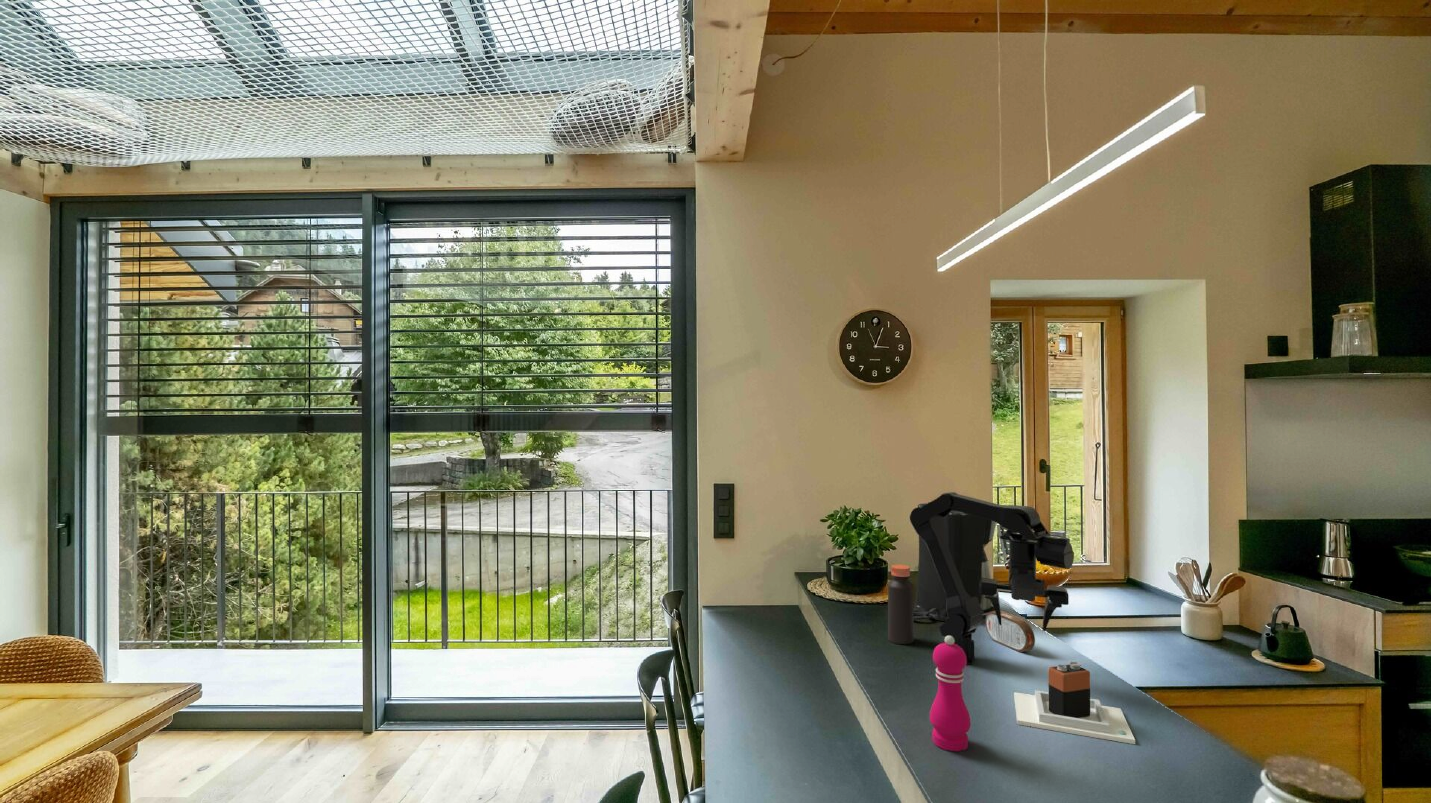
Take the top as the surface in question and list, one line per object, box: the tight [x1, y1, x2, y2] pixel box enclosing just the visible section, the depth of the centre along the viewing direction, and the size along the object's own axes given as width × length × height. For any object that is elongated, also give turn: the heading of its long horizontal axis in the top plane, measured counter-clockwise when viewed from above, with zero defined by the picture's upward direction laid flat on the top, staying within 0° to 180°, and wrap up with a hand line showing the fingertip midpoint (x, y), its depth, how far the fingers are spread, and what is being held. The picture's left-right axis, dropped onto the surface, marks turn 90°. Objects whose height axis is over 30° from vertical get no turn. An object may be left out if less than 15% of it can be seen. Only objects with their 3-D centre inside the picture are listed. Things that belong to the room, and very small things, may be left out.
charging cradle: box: [1013, 689, 1136, 745], centre depth 130 cm, size 20×14×2 cm
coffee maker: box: [914, 501, 997, 622], centre depth 199 cm, size 23×32×34 cm
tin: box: [985, 610, 1036, 653], centre depth 171 cm, size 15×3×8 cm, turn 20°
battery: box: [1047, 661, 1091, 718], centre depth 131 cm, size 4×7×10 cm, turn 107°
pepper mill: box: [929, 636, 972, 752], centre depth 121 cm, size 7×7×20 cm
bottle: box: [887, 564, 915, 645], centre depth 175 cm, size 7×7×20 cm
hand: (1021, 627), depth 150 cm, fingers open, 9 cm apart
